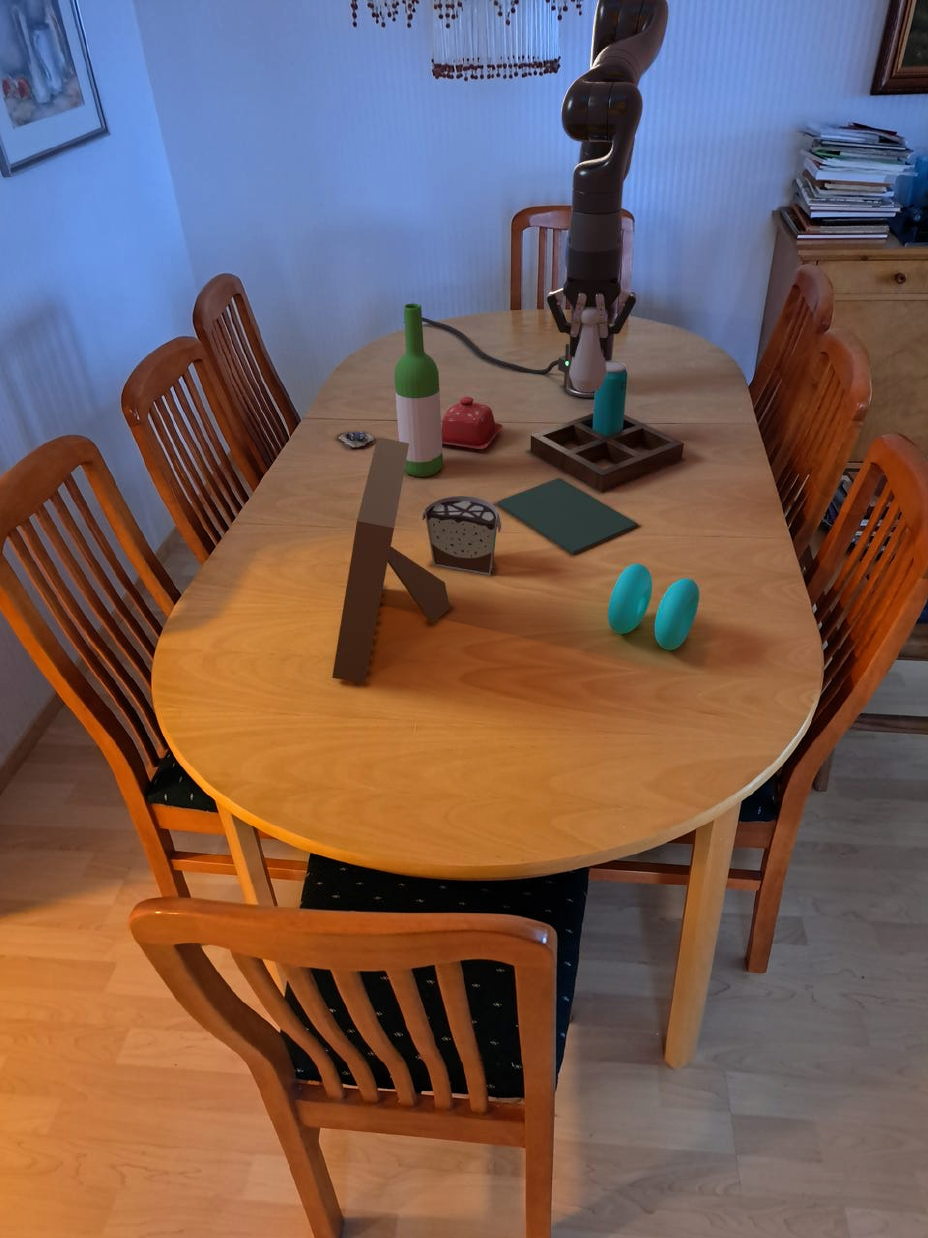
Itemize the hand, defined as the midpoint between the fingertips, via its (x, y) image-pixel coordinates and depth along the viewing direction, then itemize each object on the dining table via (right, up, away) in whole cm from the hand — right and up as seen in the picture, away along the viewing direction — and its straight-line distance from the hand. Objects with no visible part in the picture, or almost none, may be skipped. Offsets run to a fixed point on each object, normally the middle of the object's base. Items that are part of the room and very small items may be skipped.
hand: (587, 358), depth 140 cm
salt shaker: (0, -4, +3) cm, 5 cm away
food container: (-19, -31, +2) cm, 36 cm away
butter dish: (-18, -5, +37) cm, 41 cm away
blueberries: (-41, -6, +37) cm, 55 cm away
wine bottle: (-27, -13, +27) cm, 40 cm away
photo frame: (-29, -43, -12) cm, 53 cm away
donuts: (+7, -43, -14) cm, 46 cm away
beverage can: (+8, -6, +34) cm, 36 cm away
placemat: (-2, -23, +12) cm, 26 cm away
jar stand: (+7, -10, +29) cm, 32 cm away
